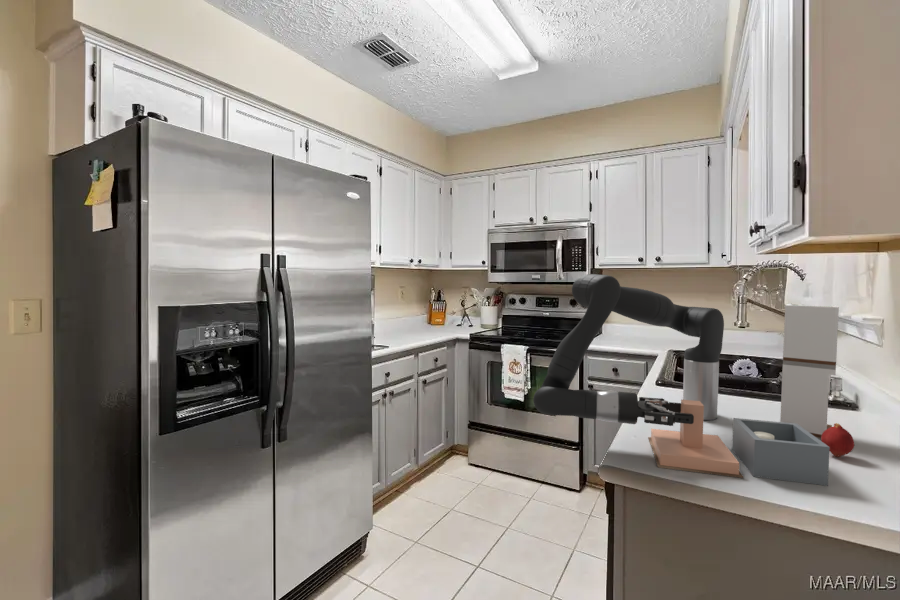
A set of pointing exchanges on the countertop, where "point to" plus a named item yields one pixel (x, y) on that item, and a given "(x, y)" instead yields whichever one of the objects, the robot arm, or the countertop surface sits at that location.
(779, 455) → the storage box
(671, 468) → the board
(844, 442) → the pomegranate
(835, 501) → the countertop surface
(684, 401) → the lid
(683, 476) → the countertop surface
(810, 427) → the white tall block
